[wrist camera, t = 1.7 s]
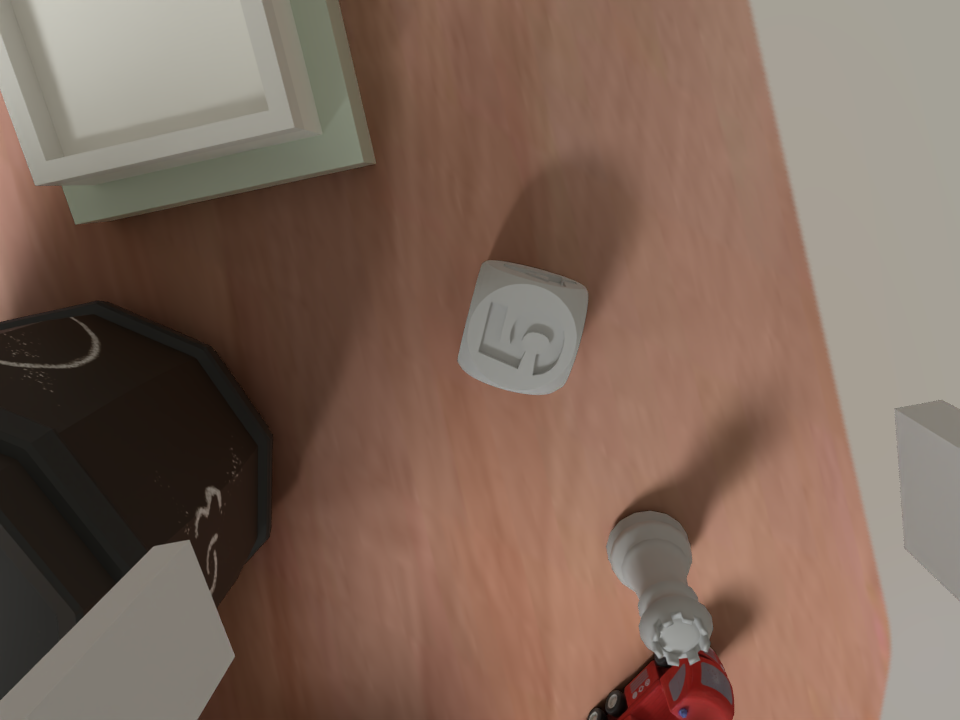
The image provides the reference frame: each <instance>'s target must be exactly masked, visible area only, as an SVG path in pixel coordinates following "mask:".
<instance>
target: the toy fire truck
mask: <svg viewBox="0 0 960 720" xmlns="http://www.w3.org/2000/svg"><path fill="white" fill-rule="evenodd" d="M698 656H699V658H700V661H698V662H696V663H694V664H692V665H690V663H689V661H688V658H682V659H679V667H678V666H673V665H669V664H668V663H667V660H666V657H664V656H662V657H661V658H658V657H657V655H656V654H655V660H653V661H651V662H650V663H649V664H648V665H647V666H646V667H645V668H644V669H643V670H642V671H641V672H640V673H639V674H638V675H637V676H636V677H635V678H634V679H633V680H632V681H631V682H630V683H629V684H628V685H627V686H626V687H625V689H624V693H622V692H620V691H619V690H615V691H612V692H611V693H610V694H609V696H608V698H607V700H606V704H605V708H606V711H607V713H608V715H607V716H606V715H605V713H604V712H603V710H601V709H600V708H595V709H593V710H592V711H591V712H590V713H589V716H588V718H587V720H732V719H733V716H734V695H733V690H732V686H731V684H730V681H729V679H728V678H727V674H726V672H725V669H724V667H723V665H722V663H721V661H720V660H719V658H718V656H717V655H716V653H715V652H714V650H713V649H712V648H711V647H709V650H708V653H707V652H705V651H702V650H700V651H699V652H698Z"/></svg>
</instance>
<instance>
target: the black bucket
mask: <svg viewBox="0 0 960 720" xmlns="http://www.w3.org/2000/svg"><path fill="white" fill-rule="evenodd" d="M272 444H273V434H272V433H271V432H270V430H269V429H268V426H267V424H266V423H265V421H264V420H263V418H262V417H261V415H260V414H259V413H258V411H257V410H256V408H255V407H254V405H253V404H252V403H251V401H250V400H249V398H248V397H247V395H246V394H245V392H244V391H243V390H242V388H241V387H240V385H239V384H238V382H237V381H236V380H235V378H234V377H233V375H232V374H231V372H230V371H229V369H228V368H227V367H226V365H225V364H224V362H223V361H222V359H221V358H220V357H219V355H218V354H217V352H216V351H214V350H213V348H212V347H211V346H209V345H207V344H205V343H202V342H200V341H198V340H195V339H193V338H191V337H188V336H186V335H184V334H181V333H179V332H177V331H174V330H172V329H170V328H167V327H165V326H163V325H161V324H158V323H156V322H154V321H151V320H149V319H147V318H144V317H142V316H140V315H137V314H135V313H133V312H130V311H128V310H126V309H123V308H121V307H119V306H116V305H114V304H112V303H109V302H104V301H94V302H90V303H85V304H81V305H76V306H71V307H67V308H62V309H58V310H53V311H49V312H44V313H39V314H35V315H30V316H26V317H21V318H17V319H12V320H7V321H3V322H0V700H1V699H2V698H3V697H4V696H5V695H6V694H7V693H8V692H9V691H10V690H11V689H12V688H13V687H14V686H15V685H16V684H17V683H18V682H19V681H20V680H21V679H22V678H23V677H24V676H25V675H26V674H27V673H28V672H29V671H30V670H31V669H32V668H33V667H34V666H35V665H36V664H37V663H38V662H39V661H40V660H41V659H42V658H43V657H44V656H45V655H46V654H47V653H48V652H49V651H50V650H51V649H52V648H53V647H54V646H55V645H56V644H57V643H58V642H59V641H60V640H61V639H62V638H63V637H64V636H65V635H66V634H67V633H68V632H69V631H70V630H71V629H72V628H73V627H74V626H75V625H76V624H77V623H78V622H79V621H80V620H81V619H82V618H83V617H84V616H85V615H86V614H87V613H88V612H89V611H90V610H91V609H92V608H93V607H94V606H95V605H96V604H97V603H98V602H99V601H100V600H101V599H102V598H103V597H104V596H105V595H106V594H107V593H108V592H109V591H110V590H111V589H112V588H113V587H114V586H115V585H116V584H117V583H118V582H119V581H120V580H121V579H122V578H123V577H124V576H125V575H126V574H127V573H128V572H129V571H130V570H131V569H132V568H133V567H134V566H135V565H136V564H137V563H138V562H139V561H140V560H141V559H142V558H143V557H144V556H145V555H146V554H147V553H148V552H149V551H150V550H151V549H152V548H153V547H154V546H158V545H164V544H169V543H174V542H180V541H185V540H190V542H191V545H192V547H193V550H194V553H195V555H196V558H197V560H198V563H199V565H200V568H201V570H202V573H203V575H204V578H205V581H206V583H207V586H208V588H209V591H210V593H211V596H212V598H213V601H214V604H215V606H216V608H217V607H218V605H219V604H220V603H221V601H222V600H223V598H224V597H225V595H226V594H227V593H228V591H229V590H230V588H231V587H232V585H233V584H234V583H235V581H236V580H237V578H238V577H239V574H240V572H241V570H242V568H243V566H244V565H245V563H246V562H247V561H248V560H249V559H250V558H251V557H252V556H253V555H254V554H255V553H256V551H257V550H258V549H259V548H260V547H261V546H262V545H263V544H264V543H265V542H266V540H267V539H268V538H269V537H270V532H271V514H272Z"/></svg>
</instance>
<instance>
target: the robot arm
mask: <svg viewBox="0 0 960 720" xmlns="http://www.w3.org/2000/svg"><path fill="white" fill-rule="evenodd" d="M895 422H896V435H897V450H898V464H899V478H900V492H901V506H902V518H903V534H904V548H905V549H906V550H907V551H908V552H909V553H910V554H911V555H912V556H913V557H914V558H915V559H916V560H917V561H918V562H919V563H920V564H921V565H922V566H923V567H924V568H925V569H927V571H928V572H930V573H931V574H932V575H933V576H934V577H935V578H936V579H937V580H938V581H939V582H940V583H941V584H942V585H943V586H944V587H945V588H946V589H947V590H948V591H949V592H950V593H951V594H953V596H955V598H957V599H958V600H959V601H960V409H958V408H956V407H954V406H953V405H951V404H949V403H947V402H945V401H943V400H938V401H933V402H928V403H922V404H917V405H912V406H906V407H901V408H895ZM234 657H235V655H234V652H233V649H232V647H231V644H230V642H229V639H228V637H227V634H226V632H225V629H224V626H223V624H222V621H221V619H220V616H219V614H218V611H217V609H216V606H215V604H214V601H213V598H212V596H211V593H210V591H209V588H208V586H207V583H206V581H205V578H204V575H203V573H202V570H201V568H200V565H199V563H198V560H197V558H196V555H195V553H194V550H193V547H192V545H191V542H190V540H185V541H180V542H174V543H169V544H164V545H158V546H154V547H153V548H152V549H151V550H150V551H149V552H148V553H147V554H146V555H145V556H144V557H143V558H142V559H141V560H140V561H139V562H138V563H137V564H136V565H135V566H134V567H133V568H132V569H131V570H130V571H129V572H128V573H127V574H126V575H125V576H124V577H123V578H122V579H121V580H120V581H119V582H118V583H117V584H116V585H115V586H114V587H113V588H112V589H111V590H110V591H109V592H108V593H107V594H106V595H105V596H104V597H103V598H102V599H101V600H100V601H99V602H98V603H97V604H96V605H95V606H94V607H93V608H92V609H91V610H90V611H89V612H88V613H87V614H86V615H85V616H84V617H83V618H82V619H81V620H80V621H79V622H78V623H77V624H76V625H75V626H74V627H73V628H72V629H71V630H70V631H69V632H68V633H67V634H66V635H65V636H64V637H63V638H62V639H61V640H60V641H59V642H58V643H57V644H56V645H55V646H54V647H53V648H52V649H51V650H50V651H49V652H48V653H47V654H46V655H45V656H44V657H43V658H42V659H41V660H40V661H39V662H38V663H37V664H36V665H35V666H34V667H33V668H32V669H31V670H30V671H29V672H28V673H27V674H26V675H25V676H24V677H23V678H22V679H21V680H20V681H19V682H18V683H17V684H16V685H15V686H14V687H13V688H12V689H11V690H10V691H9V692H8V693H7V694H6V695H5V696H4V697H3V698H2V699H1V700H0V720H198V718H199V716H200V714H201V713H202V711H203V709H204V708H205V706H206V704H207V703H208V701H209V699H210V698H211V696H212V694H213V693H214V691H215V689H216V688H217V686H218V684H219V683H220V681H221V679H222V678H223V676H224V674H225V673H226V671H227V669H228V667H229V666H230V664H231V662H232V661H233V659H234Z"/></svg>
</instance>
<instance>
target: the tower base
mask: <svg viewBox="0 0 960 720" xmlns="http://www.w3.org/2000/svg"><path fill="white" fill-rule="evenodd" d="M0 90H1V93H2V96H3V98H4V101H5V104H6V107H7V109H8V112H9V115H10V118H11V120H12V123H13V126H14V129H15V131H16V134H17V137H18V140H19V142H20V145H21V148H22V151H23V153H24V156H25V159H26V162H27V164H28V167H29V170H30V173H31V175H32V178H33V181H34V184H35V186H62V188H63V191H64V194H65V197H66V200H67V202H68V205H69V208H70V211H71V214H72V217H73V219H74V222H75V225H76V224H87V223H97V222H108V221H113V220H118V219H123V218H127V217H132V216H137V215H141V214H146V213H150V212H155V211H160V210H164V209H169V208H174V207H178V206H183V205H188V204H192V203H197V202H202V201H206V200H211V199H215V198H220V197H225V196H229V195H234V194H239V193H243V192H248V191H253V190H257V189H262V188H266V187H271V186H276V185H280V184H285V183H290V182H294V181H299V180H304V179H308V178H313V177H318V176H322V175H327V174H331V173H336V172H341V171H345V170H350V169H355V168H359V167H364V166H369V165H373V164H376V160H375V156H374V151H373V147H372V143H371V139H370V134H369V130H368V126H367V121H366V117H365V113H364V108H363V104H362V100H361V95H360V91H359V87H358V82H357V78H356V74H355V69H354V65H353V61H352V56H351V52H350V48H349V43H348V39H347V35H346V31H345V26H344V22H343V18H342V13H341V9H340V5H339V0H0Z"/></svg>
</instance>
